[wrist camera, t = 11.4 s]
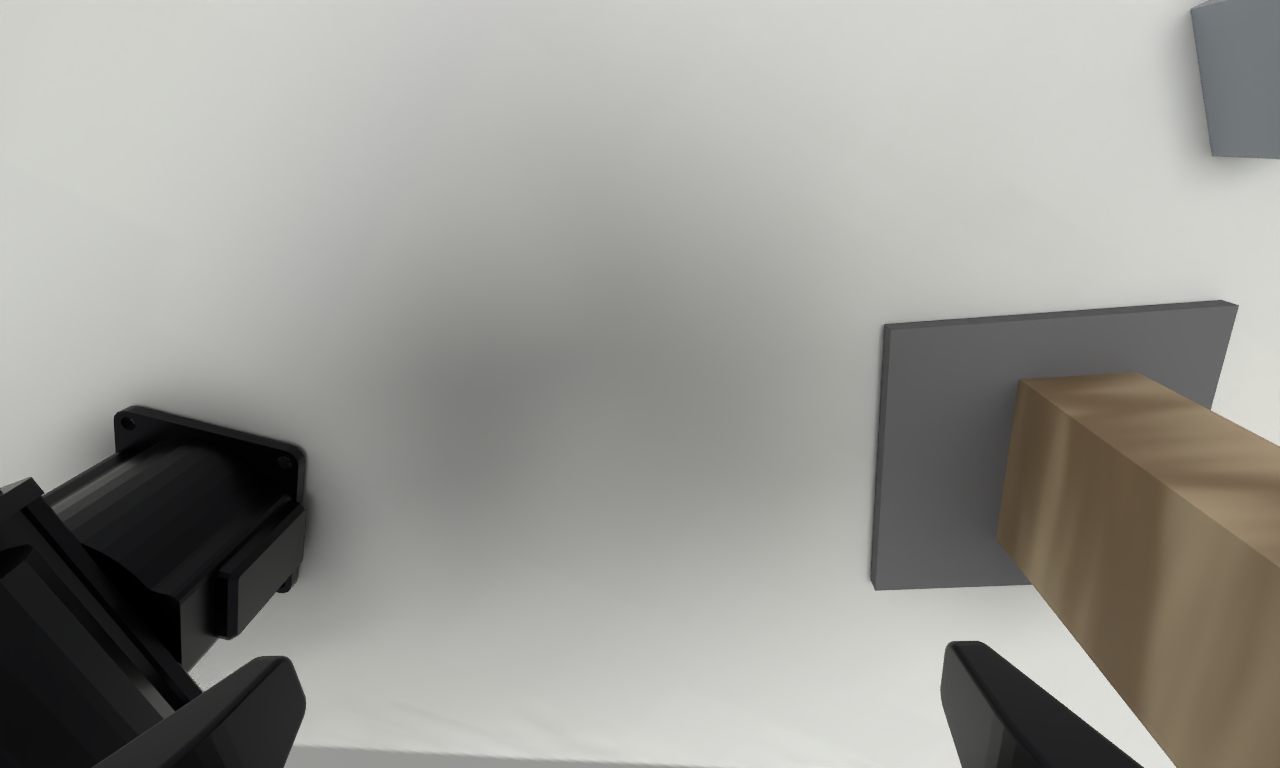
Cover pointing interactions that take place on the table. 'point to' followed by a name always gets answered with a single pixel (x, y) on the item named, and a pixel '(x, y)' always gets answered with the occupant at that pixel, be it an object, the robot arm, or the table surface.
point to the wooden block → (1155, 555)
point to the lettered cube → (1240, 75)
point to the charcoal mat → (1002, 420)
